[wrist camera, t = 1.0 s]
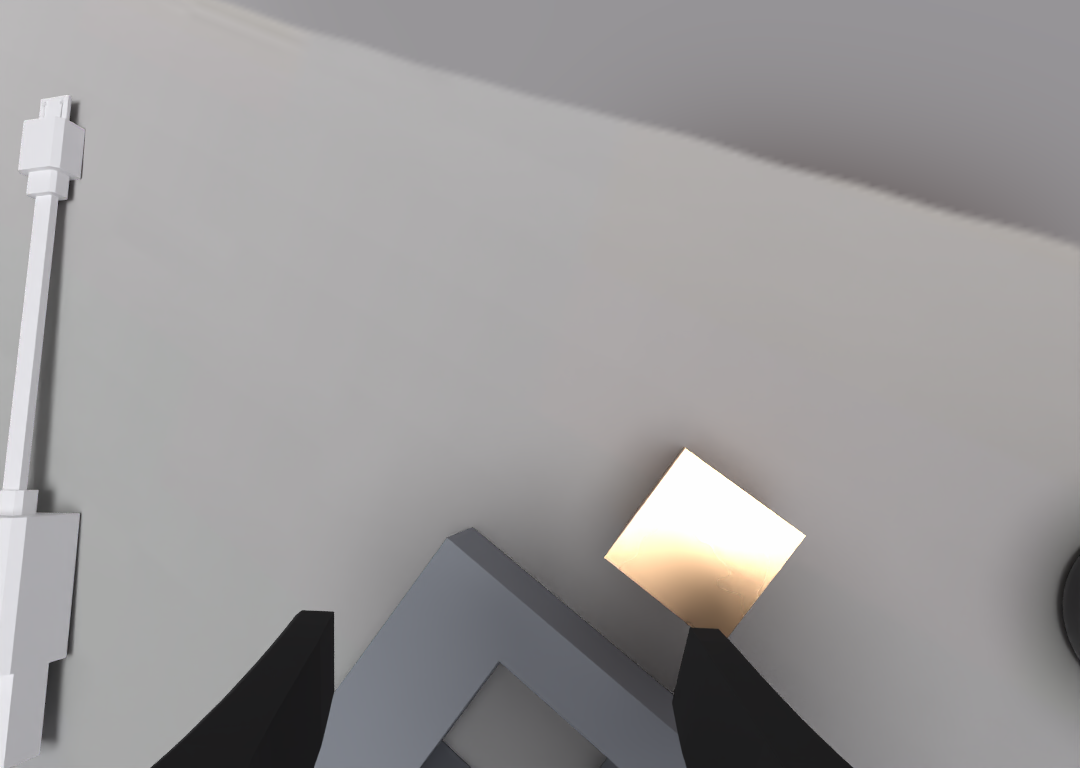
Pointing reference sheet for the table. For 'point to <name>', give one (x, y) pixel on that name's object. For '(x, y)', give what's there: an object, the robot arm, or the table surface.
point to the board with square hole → (490, 670)
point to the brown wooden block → (703, 545)
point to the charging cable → (10, 514)
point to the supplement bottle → (1072, 606)
